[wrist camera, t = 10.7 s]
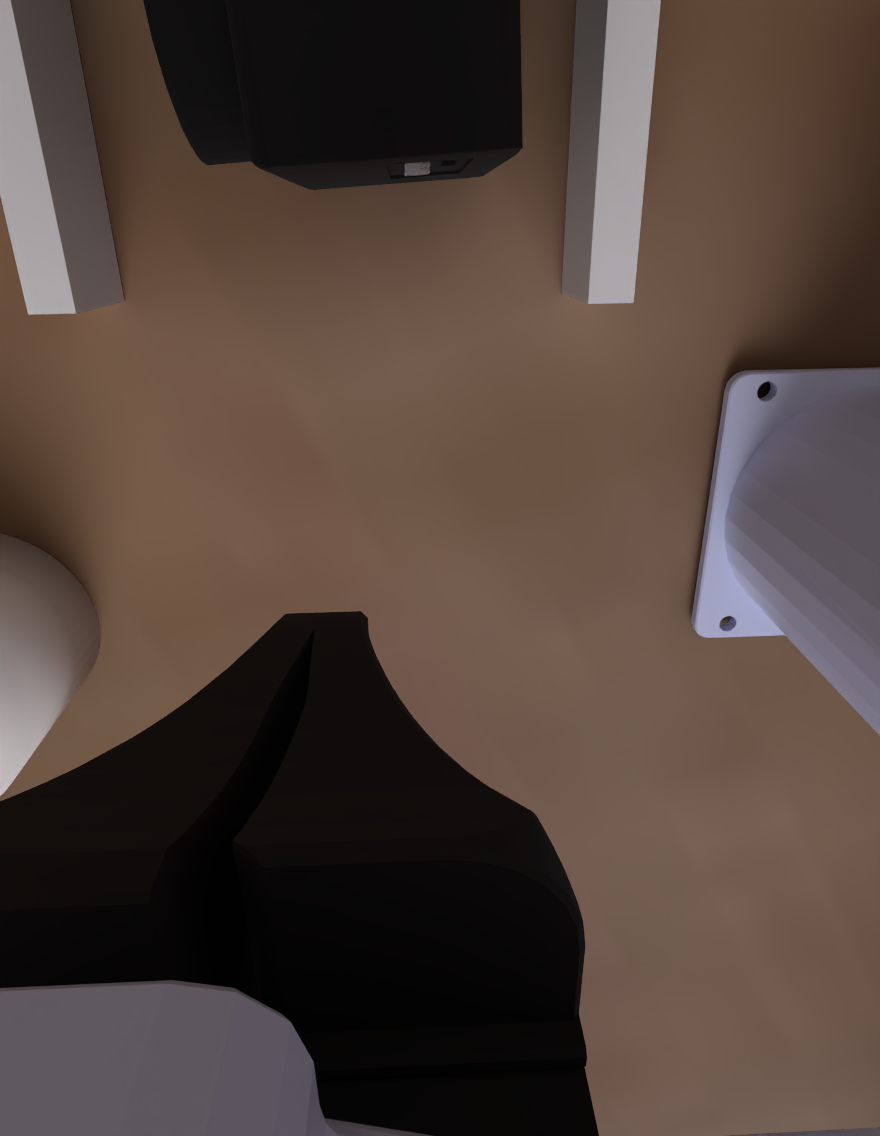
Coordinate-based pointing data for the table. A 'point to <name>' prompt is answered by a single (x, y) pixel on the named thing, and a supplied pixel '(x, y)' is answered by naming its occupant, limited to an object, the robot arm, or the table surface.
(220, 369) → the table surface
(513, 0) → the digital camera
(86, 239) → the frame
